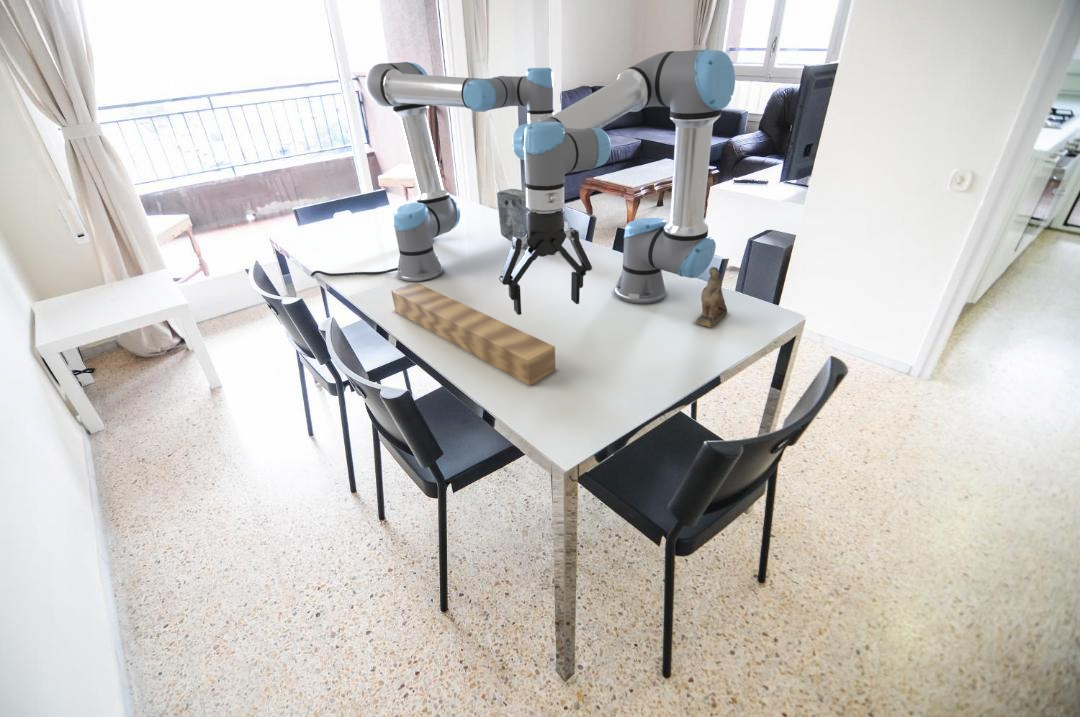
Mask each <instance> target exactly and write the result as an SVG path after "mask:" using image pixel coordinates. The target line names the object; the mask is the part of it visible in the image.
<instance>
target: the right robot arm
mask: <svg viewBox="0 0 1080 717" xmlns="http://www.w3.org/2000/svg"><path fill="white" fill-rule="evenodd" d="M735 87H736V71H735V66H734V63H733V60H731V57H730V55H729V54H728V53H726V52H725V51H723V50H717V49H707V48H704V49H695V50H675V51H674V50H671V51H669V50H668V51H663V52H659V53H657V54H654V55H651V56H649V57H647V58H645V59H643V60H641V61H639V62H637V63H635V64H633V65H631V66H629V67H628V68H625V69H624V70H622V71H621V72H620V73H619V74H618V76H617V78H616V79H615V80H614V81H612V82H610V83H608V84H607V85H605V86H603V87H601V88H600V89H598V90H596V91H594V92H592V93H591V94H589V95H587V96H585V97H583V98H581V99H580V100H578V101H576V102H575V103H573V104H570V105H569V106H567V107H565V108H563V109H562V110H560V111H559V112H557V113H554V115H553V116H551V117H549V118H547V119H545V120H544V121H542V122H534V123H530V124H528V123H525V124H524V123H523V124H521V125H519V126H517V128H516V129H515V131H514V132H513V135H512V141H511V143H512V150H513V153H514V154H515V156H516V157H517V158H518V159H520V160H522V161H524V178H525V179H524V181H525V180H526V187H525V191H526V207H527V208H528V209H529V210H528V211H527V235H526V237H518V236H516V235H514V236H513V237H512V241H511V247H510V249H509V252H508V255H507V257H506V259H505V262H504V264H503V267H502V269H501V272H500V274H499V277H498V280H499V281H500V282H501V284H502V285H504V286H506V285H507V288H508V297H509V299H510V300H511V301H513V311H514V312H515V313H516V315H518V316H522V299H521V285H520V284H519V282H520V280H521V279H522V277H523V276H524V274H525V273H526V272H527V270H528V269H529V267H531V265H532V263H533V262H534V261H535V260H537V258H538V257H540V258H542V257H546V256H555V255H556V253H558V254H559V255H560V256H561V257H562V258H563V259H564V260H565V262H566V263H567V264H568V265H569V266H570V267H571V268H572V269H573V270H574V271H572V272H571V274H570V275H571V276H570V277H571V279H570V280H571V281H570V283H571V284H570V288H571V289H570V291H571V293H570V299H571V301H572V302H573V303H574V304H575V305H579V304H580V293H581V292H580V289H582V288H583V287H584V277H585V276H586V274H587V272H590V271H592V270H593V266H592V264H591V262H590V260H589V258H588V256H587V253H586V251H585V249H584V248H583V245H582V243H581V241H580V232H579V230H578V229H576V228H574V227H570V228H568V230H565V210H564V207H565V180H566V179H565V178H566V176H565V175H567V174H570V173H571V174H572V173H576V172H582V171H586V170H587V171H588V170H595V169H596V168H598V167H602V166H603V165H605V164H606V163H607V162H608V160H609V158H610V157H611V156H610V155H611V150H612V144H611V143H612V142H611V139H610V137H609V135H608V133H607V132H606V131H605V130H604V129H603V128H604V127H606V126H607V125H609V124H611V123H613V122H615V121H616V120H618V119H620V118H621V117H623V116H624V115H626V114H627V113H629V112H631V113H636V112H640V111H641V110H643V109H645V108H651V107H664V108H670V109H669V110H670V111H669V119H670V120H671V121H672V123H674V125H675V133H674V134H675V136H674V148H673V150H674V151H673V165H672V166H673V168H672V180H671V181H672V182H671V197H670V212H669V213H670V216H669V221H668V222H667V221H666V220H665V219H664V218H661V217H645V218H639V219H634V220H631V221H629V222H628V223H627V224H626V225H625V228H624V235H623V254H622V270H621V273H620V275H619V277H618V280H617V283H616V286H615V291H614V292H615V296H616V298H618V299H619V300H621V301H623V302H626V303H630V304H636V305H648V304H649V305H650V304H655V303H658V302H660V301H662V300H663V299H664V298H665V297H666V285H665V282H664V276H663V273H662V271H664V272H668V273H671V274H674V275H677V276H679V277H685V278H688V279H696V278H698V277H700V276H701V275H702V274H703V273H704V272H705V271H706V270H707V269H708V268H709V267H710V265H711V263H712V262H713V259H714V255H715V252H716V248H717V245H716V244H717V243H716V242H715V239H714V238H712V237H711V236H709V225H708V224H707V223H706V222H705V221H704V218H705V217H704V216H705V208H706V206H705V205H706V198H707V190H708V188H707V187H708V179H709V177H708V176H709V169H710V168H709V167H710V157H711V148H712V138H713V129H714V123H715V122H716V121H717V120H719V118H721V116H722V110H723V109H725V108H727V106H728V105H729V104H730V103H731V101H732V96H733V95H734V92H735ZM566 239H567V240H568V241H569V242H570V244H571V245H572V248H573V250H574V252H575V254H576V256H577V258H578V261H579V262H580V264H579V263H578V262H577V261H576V260H575V259H574V258H573V256H572V255H571V254H570V253H569V252H568V250H567V249H566V248H565V247H564V246H563V244H564V242H565V241H566ZM525 243H527V244H528V245H529V247H528V248H527V249H526V250H525V251H524V254H523V256H522V258H521V259H520V260H518V259H519V257H520V255H521V252H522V249H524V248H523V247H524V244H525ZM517 262H518V263H517ZM516 264H517V265H516Z"/></svg>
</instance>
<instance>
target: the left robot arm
mask: <svg viewBox="0 0 1080 717" xmlns="http://www.w3.org/2000/svg"><path fill="white" fill-rule="evenodd" d="M554 82H555V81H554V71H553V69H552V68H550V67H529V68H527V69H526V72H525V75H523V76H519V75H518V76H516V75H515V76H514V75H512V76H511V75H509V76H508V75H498V76H493V77H491V78H490V77H489V78H478V77H461V76H444V75H432V74H431V75H430V74H428V72H427V71H426V70H425V69H424V68H423V67H422V65H420V64H418V63H416V62H409V61H401V62H400V61H399V62H387V63H385V62H383V63H382V62H381V63H377V64H375V65H373V66H372V67H371V68H369V70H368V71H367V73H366V76H365V80H364V83H365V89H366V92H367V94H368V96H369V98H371V100H372V101H373V102H374V103H376V104H377V105H379V106H382V107H392V112H393V114H394V115H395V116H397V117H398V118H399V120H400V124H401V128H402V131H403V135H404V139H405V143H406V146H407V150H408V154H409V158H410V162H411V166H412V169H413V170H412V171H413V173H414V177H415V182H416V186H417V189H418V195H417V196H416V202H409V203H406V204H402V205H400V206H398V207H397V208H396V209H395V210H394V211H393V213H392V219H393V223H392V224H393V227H394V230H395V231H394V232H395V236H396V242H397V247H398V251H399V259H398V265H397V267H395V268H391V269H387V270H381V271H356V272H355V271H352V272H351V271H350V272H338V273H337V272H336V273H335V272H334V273H331V272H326V271H322V270H314V271H312V272H311V274H310V276H311V277H314V276H315V275H316V274H320V275H323V276H328V277H343V276H344V277H345V276H357V275H358V276H360V275H363V276H364V275H365V276H366V275H368V276H369V275H384V274H389V273H391V272H397V276H398V278H399V279H400V280H402V281H406V282H413V283H415V282H425V281H429V280H432V279H435V278H438V277H439V276H440V275H441V274H442V273H443V268H442V264H441V263H440V260H439V257H438V255H437V254H436V252H435V250H434V243H433V241H432V239H433V240H434V239H435V238H438V237H439V236H442V235H444V234H447V233H449V232H451V231H452V230H454V229H455V228H456V227H457V226H458V224H459V222H460V220H461V211H460V207H459V205H458V204H459V203H457V201H456V200H455V199H454V198H453V197H451V195H450V191H448V190H446V189H445V188H444V184H443V180H442V176H441V173H440V172H441V171H440V168H439V163H438V159H437V155H436V150H435V146H434V140H433V137H432V133H431V129H430V124H429V121H428V116H427V112H428V110H429V109H430V106H435V107H446V108H458V109H469V110H471V111H473V112H477V113H479V112H481V113H484V112H487V111H491V110H496V109H502V108H507V107H527V124H530V123H534V122H542V121H544V120H545V119H547V118H549V117H551V116H553V115H555V109H554V106H555V105H554V104H555V102H554V101H555V100H554V98H555V97H554V96H555V94H554V92H555V91H554V90H555V84H554ZM524 186H525V188H526V180H525V179H524Z"/></svg>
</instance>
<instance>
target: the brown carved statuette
mask: <svg viewBox="0 0 1080 717" xmlns="http://www.w3.org/2000/svg"><path fill="white" fill-rule="evenodd" d="M708 273H709V275H710V276H709V278H708V279H707V280H708V281H707V284H706V286H705V287H704V288H703V290H702V292H701V297H700V298H701V309H702V312H701V315H700V316H699V317H698V318H697V319H696V321H695V324H696V325H699V326H703V327H705V328H712V327H714V326H715V325H716V324H717V323H719V321H721V320H722V319H723V318H725V317H726V316H727V315H728V307H727V304H726V301H725V298H724V293H723V290H722V287H723V281H722V279H721V278H720V270H719V269H718V268H717V267H715V266H712V267H711V268H710V269H709V270H708Z"/></svg>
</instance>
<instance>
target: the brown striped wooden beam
mask: <svg viewBox="0 0 1080 717" xmlns="http://www.w3.org/2000/svg"><path fill="white" fill-rule="evenodd" d="M391 296H392V301H393V307H394V311H395V312H396V313H397V314H399V315H401V316H403V317H405V318H406V319H408V320H410V321H412V322H414V323H415V324H416V325H419V326H421V327H423V328H425V329H426V330H428V331H430V332H431V333H433V334H436V335H437V336H438V337H441V338H442V339H444V340H446V341H448V342H449V343H451V344H453V345H455V346H457V347H459V348H461V349H462V350H465V351H466V352H468V353H470V354H472V356H475V357H478V358H479V359H481V360H482V361H484V362H486V363H488V364H489V365H491V366H493V367H495V368H497V369H498V370H500V371H503V372H504V373H506V374H507V375H510V376H511V377H513V378H515V379H517V380H519V381H520V382H522V383H523V384H526V385H528V386H532V385H534V384H536V383H537V382H539V381H541V380H542V379H544V378H546V377H547V376H549V375H551V374H553V373H554V372H555V371H556V346H555V345H553V344H550V343H548V342H546V341H544V340H542V339H540V338H537V337H535V336H533V335H531V334H528V332H527V333H526V332H524V331H522V330H521V329H518V328H517V327H513V326H511V325H509V324H508V323H505V322H503V321H500V320H498V319H496V318H494V317H492V316H490V315H487V314H486V313H483V312H481V311H479V310H477V309H474V308H473V307H470V306H468V305H466V304H463V303H462V302H459V301H457V300H455V299H453V298H450V297H448V296H447V295H444V294H442V293H440V292H437V291H435V290H434V289H431V288H429V287H427V286H425V285H423V284H420V283H418V282H417V281H415V282H412V283H409V284H407V285H404V286H402V287H399V288H396V289H393V290H391Z"/></svg>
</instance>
